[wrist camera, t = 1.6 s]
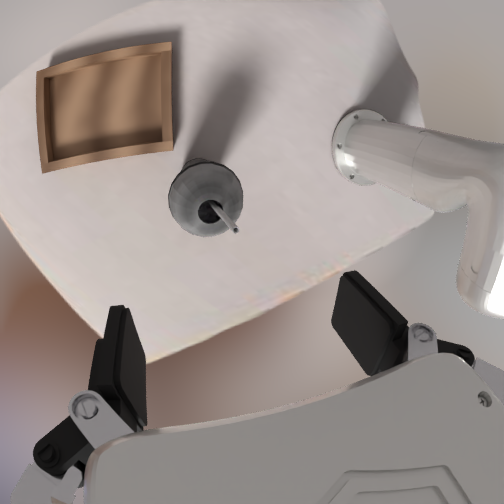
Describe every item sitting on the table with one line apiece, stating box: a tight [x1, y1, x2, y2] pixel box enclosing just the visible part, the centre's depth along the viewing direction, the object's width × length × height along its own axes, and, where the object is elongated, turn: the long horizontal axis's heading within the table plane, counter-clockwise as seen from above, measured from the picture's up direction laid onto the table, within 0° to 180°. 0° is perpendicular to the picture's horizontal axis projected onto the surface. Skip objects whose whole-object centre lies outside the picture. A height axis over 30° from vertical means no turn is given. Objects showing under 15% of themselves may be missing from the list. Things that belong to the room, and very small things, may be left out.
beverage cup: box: [168, 159, 243, 237], centre depth 27 cm, size 7×7×20 cm
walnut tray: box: [36, 42, 174, 174], centre depth 27 cm, size 18×14×3 cm
